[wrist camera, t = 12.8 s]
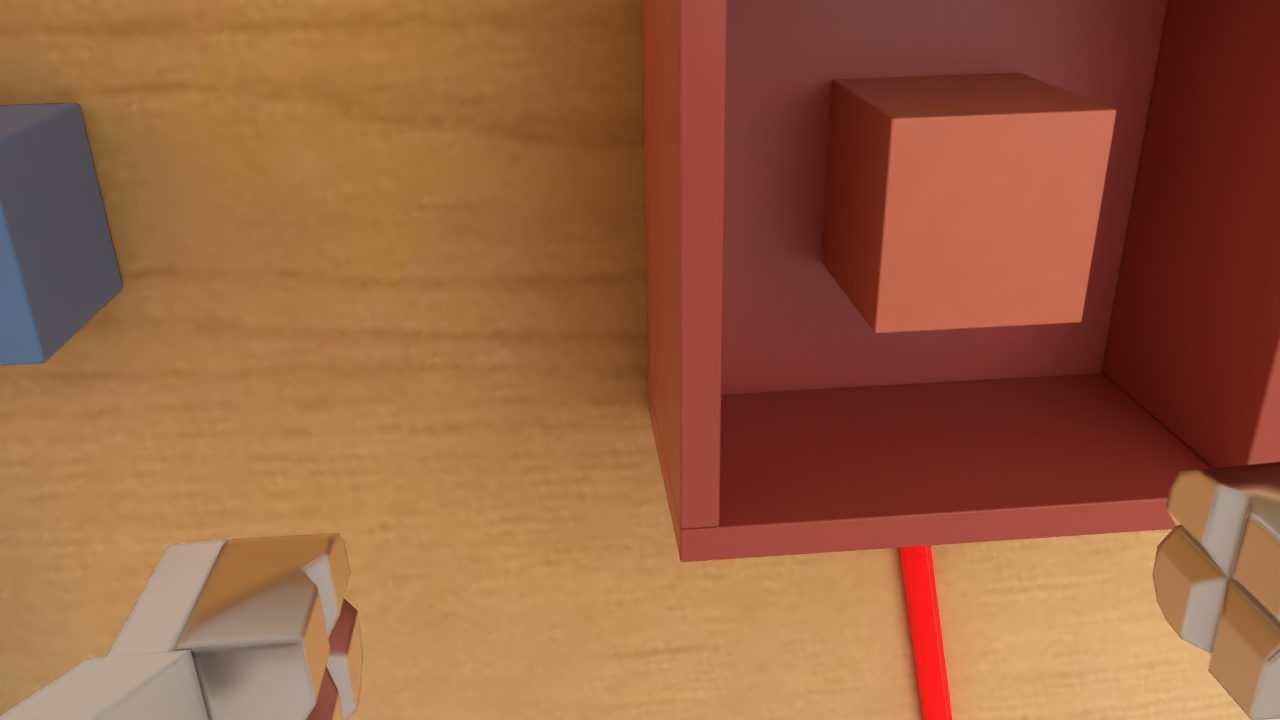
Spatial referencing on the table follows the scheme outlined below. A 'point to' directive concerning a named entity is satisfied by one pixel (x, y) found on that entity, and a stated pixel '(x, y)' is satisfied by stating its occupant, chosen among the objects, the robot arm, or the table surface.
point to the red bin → (957, 358)
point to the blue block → (49, 232)
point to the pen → (926, 631)
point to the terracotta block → (963, 199)
